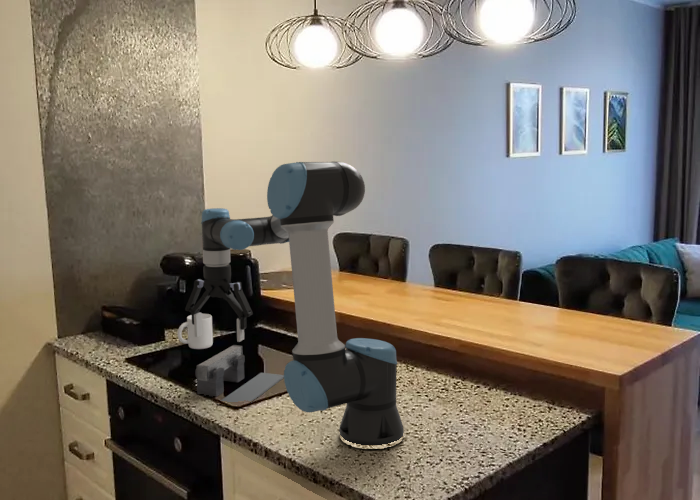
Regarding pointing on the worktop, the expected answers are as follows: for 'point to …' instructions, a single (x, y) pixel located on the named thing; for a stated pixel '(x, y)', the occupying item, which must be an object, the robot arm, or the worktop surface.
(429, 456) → the worktop surface
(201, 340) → the mug
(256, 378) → the mat
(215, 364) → the rail
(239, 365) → the post
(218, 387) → the post
